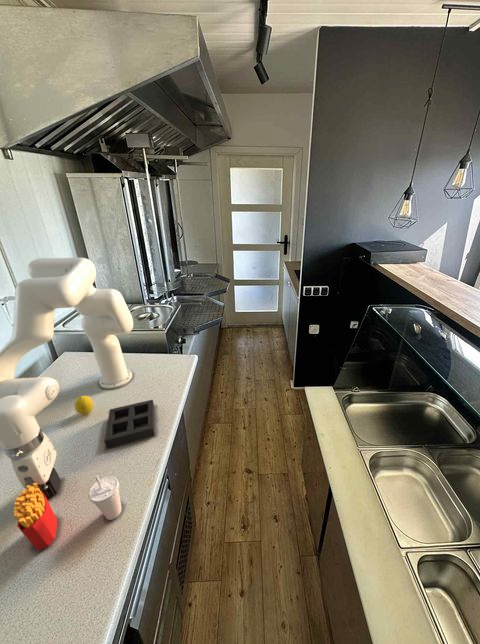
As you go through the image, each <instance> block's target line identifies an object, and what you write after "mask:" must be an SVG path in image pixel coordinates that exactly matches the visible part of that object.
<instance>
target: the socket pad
mask: <svg viewBox="0 0 480 644" xmlns="http://www.w3.org/2000/svg"><path fill="white" fill-rule="evenodd" d="M155 414H156V413H155V404H154V399H150V400H145V401H140V402H135V403H132V404H127V405H122V406H118V407H114V408H110V409H109V412H108V417H107V422H106V428H105V434H104V440H103V443H104V444H105V447H106V449H112V448H116V447H119V446H122V445H127V444H130V443H133V442H137V441H141V440H145V439H149V438H153V437H156V427H155V426H156V424H155V423H156V422H155V421H156V419H155V417H156V415H155ZM144 425H147V426H144ZM141 426H144V427H141ZM137 427H138V428H137ZM125 430H126V431H125ZM121 431H123V432H121ZM117 432H119V433H117Z"/></svg>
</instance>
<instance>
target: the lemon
mask: <svg viewBox="0 0 480 644" xmlns="http://www.w3.org/2000/svg"><path fill="white" fill-rule="evenodd" d="M74 409H75V411H76V413H78V414H79V415H82V416H86V415H88V414H90V413H91V412H92V411H93V409H94V401H93V400H92V398H91V397H90V396H88V395H81V396H79V397H77V398H76V400H75V401H74Z"/></svg>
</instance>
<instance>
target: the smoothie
mask: <svg viewBox="0 0 480 644" xmlns="http://www.w3.org/2000/svg"><path fill="white" fill-rule="evenodd" d="M94 477H95V479H96V482H94V484H93V485H91V488H90V489H89V493H88V497H89V501H90V502H91V503H92V504H94V505H96V507H97V508H98V509H99V511H100V513H102V515H103V516H104V517H105V519H106V520H108V521H112V520H115V519H117V518H118V517H119V516H120V514H121V512H122V503H121V497H120V491H119V490H120V489H119V488H120V483H119V482H120V481H118V479H117V478H116V477H115V476H112V475H109V476H104V477H102V478H100V477H99V475H98V474H97V475H95V476H94Z"/></svg>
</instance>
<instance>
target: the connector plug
mask: <svg viewBox="0 0 480 644" xmlns="http://www.w3.org/2000/svg"><path fill="white" fill-rule="evenodd" d="M61 482H62V480H61V478H60V476H59V474H58V472H57V470H56V468H55V467H54V468H52V471H51V474H50V477H49V479H48V481H47V485H50V486H51V488H52V490H53V492H54V496H56V495H58V494H59V490H60V486H61ZM37 485H38V486H41V485H39V484H37Z"/></svg>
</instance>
